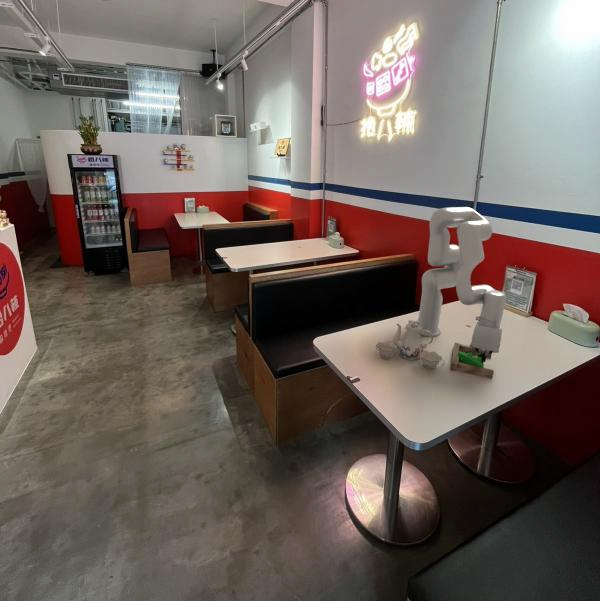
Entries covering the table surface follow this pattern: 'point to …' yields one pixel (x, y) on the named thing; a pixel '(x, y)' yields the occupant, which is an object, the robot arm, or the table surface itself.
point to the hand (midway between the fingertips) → (481, 362)
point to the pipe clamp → (470, 359)
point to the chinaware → (410, 346)
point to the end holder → (465, 367)
